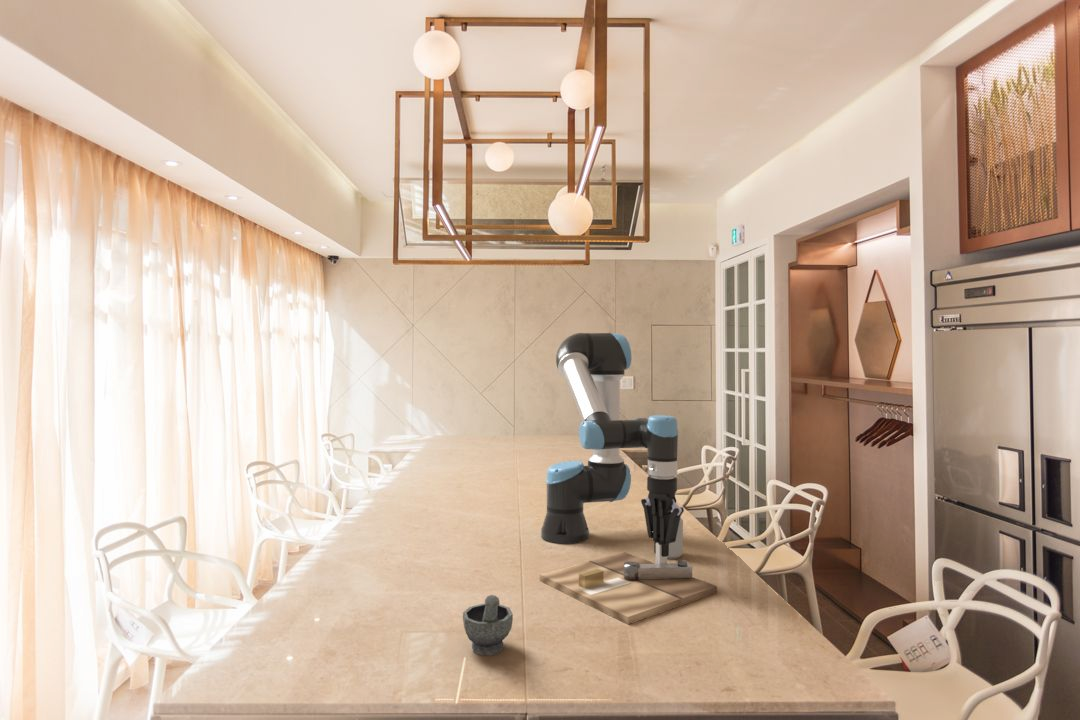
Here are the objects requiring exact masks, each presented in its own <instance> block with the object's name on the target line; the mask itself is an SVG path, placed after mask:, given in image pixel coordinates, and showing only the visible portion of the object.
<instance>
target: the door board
mask: <svg viewBox="0 0 1080 720" xmlns="http://www.w3.org/2000/svg"><path fill="white" fill-rule="evenodd" d="M629 561H633V562H638V563H639V564H656V562H652V561H649V560H647V559H644V558H641V557H639V556H636V555H633V554H631V553H629V552H625V551H624V552H621V553H617V554H614V555H613V554H612V555H610V556H609V555H608V556H605V557H601V558H597V559H594V560H589V561H586V562H582V563H578V564H574V565H571V566H567V567H563V568H559V569H555V570H551V571H548V572H543V573H539V581H540V582H542V583H543V584H546V585H548V586H550V587H551V588H554V589H556V590H558V591H559V592H561V593H564V594H566V595H567V596H570V597H572V598H574V599H576V600H578V601H579V602H582V603H584V604H586V605H588V606H590V607H592V608H593V609H596V610H598V611H600V612H602V613H604V614H606V615H608V616H610V617H612V618H614V619H616V620H618V621H620V622H621V623H624V624H626V625H630V623H631V624H633V623H636V622H639V621H642V620H644V618H645V619H647V618H649V617H653V616H656V615H659V614H661V612H662V613H665V612H667V611H669V609H670V610H673V609H676V608H678V607H681V606H683V605H686V604H689V603H692V602H696V601H698V600H702V599H704V598H706V597H709V596H712V595H714V594H718V586H717V585H715V584H713V583H711V582H707V581H704V580H701V579H698V578H696V577H693V576H692V578H676V579H641V580H637V581H629V580H626V579H624V563H625V562H629ZM672 608H673V609H672ZM666 610H667V611H666ZM658 613H659V614H658ZM638 620H639V621H638Z"/></svg>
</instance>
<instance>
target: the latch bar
mask: <svg viewBox="0 0 1080 720" xmlns="http://www.w3.org/2000/svg"><path fill="white" fill-rule="evenodd" d="M692 577H693V566H692V565H691V564H690V563H689V562H688V560H686V559H677V562H674V563H672V562H667V563H666V564H656V563H655V564H639V563H638V562H633V561H629V562H625V563H624V579H626V580H629V581H637V580H641V579H676V578H692Z"/></svg>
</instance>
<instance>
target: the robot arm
mask: <svg viewBox="0 0 1080 720" xmlns="http://www.w3.org/2000/svg"><path fill="white" fill-rule="evenodd" d="M555 363H556V367H557V371H558V373H559V374H560V375H561V376H562V377H563V378H564V379H565V380H566V384H567V387H568V389H569V391H570V394H571V396H572V400H573V402H574V403H575V407H576V409H577V411H578V414H579V416H580V420H581V423H580V424H579V428H578V438H579V443H580V446H581V447H582V448H584V449H585V450H592V455H591V456H590V457H588V458H587V465H584V462H582V461H580V460H573V461H572V460H567V461H561V462H557V463H553V464H552V465H550V466H549V467H548V469H547V471H546V480H545V483H546V513H545V517H544V521H543V525H542V527H541V530H540V531H541V532H540V535H541V536H540V537H541V538H542V539H543V541H546V542H549V543H555V544H577V543H582V542H584V541H587V540H588V539H589V537H590V531H589V530H590V529H589V527H588V523H587V520H586V516H585V514H584V504H587V503H604V502H606V503H607V502H609V503H612V502H616V501H617V502H618V501H622V500H624V499H625V498H626V497H627V496H628V494H629V492H630V489H631V484H632V475H631V469H630V467H629V465H627V464H626V463H625V459H624V457H622V456H621V455H620V449H636V448H637V449H638V448H640V449H642V448H644V449H646V450H647V475H648V477H646V479H647V481H646V484H647V485H646V490H647V491H648V495H647V497H646V498H642V499H641V500H640V502H641V504H642V507H643V512H644V518H645V524H646V525H645V526H646V532H647V537H648V538H651V539H652V541H653V542H654V545H653V547H654V549H653V552H654V553H653V554H655V564H666V563H668V558H667V556H668V555H669V543H673V542H675V541H676V536H677V531H678V527H679V522H680V517H682V515H683V513H684V512H685V511H684V510H685V509H684V506H683V507H680V506H679V505H678V503H677V499H676V493H677V491H678V478H677V475H678V446H679V445H678V441H679V440H678V439H679V438H678V437H679V435H678V434H679V429H678V420H677V417H676V416H672V415H667V414H666V415H665V414H655V415H650V416H649V417H648V418H646V417H643V418H641V417H638V418H637V417H636V418H634V419H625V420H624V419H620V413H621V412H620V411H621V410H620V409H621V408H620V402H621V401H620V397H621V396H620V394H621V393H620V391H621V390H620V389H621V387H620V385H621V383H620V381H621V380H622V378H624V376H625V371H626V370H628V369H630V367H631V363H632V349H631V346H630V343H629V340H628V339H627V338H626V336H624V334H620V333H614V332H595V333H593V332H577V333H574V334H572V335H570V336H567V338H565V340H563V341H562V342H561V344H560V345H559V347H558V349H557V352H556V355H555Z"/></svg>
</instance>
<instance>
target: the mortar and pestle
mask: <svg viewBox="0 0 1080 720" xmlns="http://www.w3.org/2000/svg"><path fill="white" fill-rule="evenodd" d="M462 622H463V628H464V631H465V634H466V635H467V638H468V640H469V641H470V642H472V643H471V649H472V652H473V653H475V654H476V655H479V656H493V655H497V654H500V653H501V652H502V651H503V650H504V640H505V639H506V638H507V636H508V635H509V633H510V632H511V630H512V629H513V628H512V626H513V622H514V621H513V611H512V610H511V607H508V606H505V605H502V604H501V603H500V598H499V597H498V596H497V595H494V594H490V595H488V596H486V597H485V599H484V603H480V604H476V605H472V606H471V605H470V606H469V607H468V608H466V609H465V610H464V611H463V612H462Z"/></svg>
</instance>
